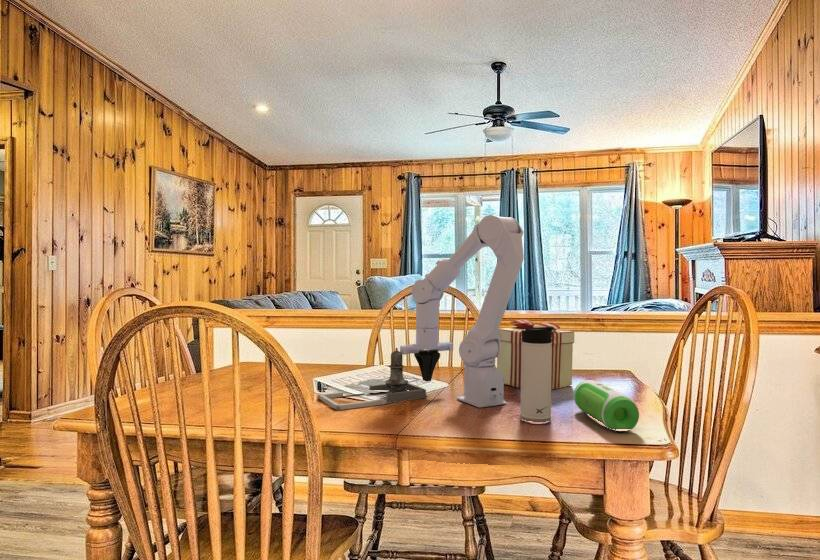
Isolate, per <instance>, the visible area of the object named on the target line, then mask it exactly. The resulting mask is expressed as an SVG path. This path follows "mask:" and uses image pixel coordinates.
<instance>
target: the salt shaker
mask: <svg viewBox="0 0 820 560" xmlns="http://www.w3.org/2000/svg"><path fill="white" fill-rule="evenodd" d="M403 357H404V356H403V354H402V353H401V352H400V350H399V348H398V347H395V350H394V351H392V352H391V354H390V365H388V366H389V368H390V374H389V375H390V376H389V378H388V379H386V380H385V381H384V384H386V387H387V389H388V390H389V391H391V392H392V393H395V392H404V391H405V389H406V387H407V383H409V381H408V380H407V379H406V378H404V371H403V370H404V367H405V365H403Z"/></svg>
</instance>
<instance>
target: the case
mask: <svg viewBox="0 0 820 560" xmlns="http://www.w3.org/2000/svg"><path fill="white" fill-rule="evenodd" d="M368 389H369V390H388V389H387V387H386V383H382V384H380V383H379V384H373V385H372V384H370V385H368ZM406 389H407V390H409V391H405V390H404V391H402V392H395V393H390V392H386V394H385V402H386V401H387V402H386V403H388V404H389V403H397V402H404V401H412V400H418V399H419V400H420V399H426V398H427V389H426V388H423V387H420V386H419V385H415V384H413V383H410V382H408V383H407V387H406ZM369 390H368V391H369Z"/></svg>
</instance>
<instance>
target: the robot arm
mask: <svg viewBox="0 0 820 560" xmlns="http://www.w3.org/2000/svg"><path fill="white" fill-rule="evenodd" d="M523 234H524V230H523V228H522V226H521V225H520V223H519V222H518V220H517V219H516V218H513V217H510V216H506V217H504V216H497V215H495V214H488V215H485V216H484V217H483V218H481V220H480V221H479V222H478V223H477V224H475V225H474V226H473V229H472V231H471V233H469V234H468V236H467V237H466V238H465V240H464V241H463V242H462V243H461V245H460V246H459V247H458V248H457V249H456V251H455V252H454V253H453V254H452V255H451V256H450V258H443V259H438V260H437V261H436V262H435V264H436V265H435V267H434V268H433V269H432V270H431V271H430V272H428V273H426V274H425V275H424V278H423V279H417V280H415V282H414V284H412V286H411V287H412V288H411V296H412V298H413V300H414V301H415V343H412V344H406V345H400V346H399V352H401V353H402V355H408V354H409V355H410V354H411V355H412V354H413V355H414V358H415V360H416V361H417V364H418V367H419V370H420V373H421V377H422V381H424V382H431V381H432V378H433V374H434V372H435V369H436V366H437V363H438V362H439V359H440V358H441V352H445V351H446V352H447V351H448V352H449V351H450V352H451V351H452V352H453V351H454V343H453V342H450V341H448V342H447V341H445V342H439V330H440V329H439V321H440V319H439V315H440V314H439V311H440V310H439V307H440V305H441V303H440V302H441V300H442V299H443V297H444V293H445V291H446V290H447V288H448V287H450V285H451V284H452V283H453V282H454V281H455V280H456V279H457V278H458V277H460V274H461V270H460V269H461V267H463V266H464V265H465V264H466V263H467V262H468V261H469V260H470V259H472V257H474V256H475V255H476V254H477V253H478V252H479V251H480V250H481V249H482V248H487V247H489V248H490V249H491V250H492V252H493V253H494V254H493V255H495V257H496V259H497V262H496V265H495V268H494V269H493V274H492V277H491V279H490V283H489V284H488V288H487V290H486V294H485V297H484V299H483V302H482V305H481V308H480V311H479V314H478V317H477V320H476V323H475V324H474V325H473V326H472V327H471V328H470V329H469V330H468V332H467V334H466V337H465V338H464V339H463V340H461V342H460V344H459V347H458V353H459V357H460V359H461V360H462V361H463V366H464V378H463V379H464V381H463V382H464V383H463V384H464V386H463V387H464V394H463V395H461V396H457V397H456V399H457V400H458V401H461V402H464V403H466V404H469V405H471V406H474V407H476V408H487V407H492V406H493V407H494V406H499V405H500V406H501V405H506V404H507V401H505V399H504V398H505V397H504V392H505V391H504V390H505V388H504V387H505V384H504V377H503V374H502V372H501V371H500V370H498V369H497V365H496V359H497V356H498V355H499V353H500V339H501V336H502V334H501V332H500V331H499V329H500V326H501V323H502V320H503V318H504V316H505V315H504V314H505V313H506V309H507V308H508V307H507V306H508V304H509V301H510V298H511V297H512V294H513V290H514V287H515V286H516V285H515V284H516V282H517V279H518V276H519V273H520V270H521V267H522V264H523V263H524V258H525V257H524V256H525V255H524V246H523V239H522V237H523Z"/></svg>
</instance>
